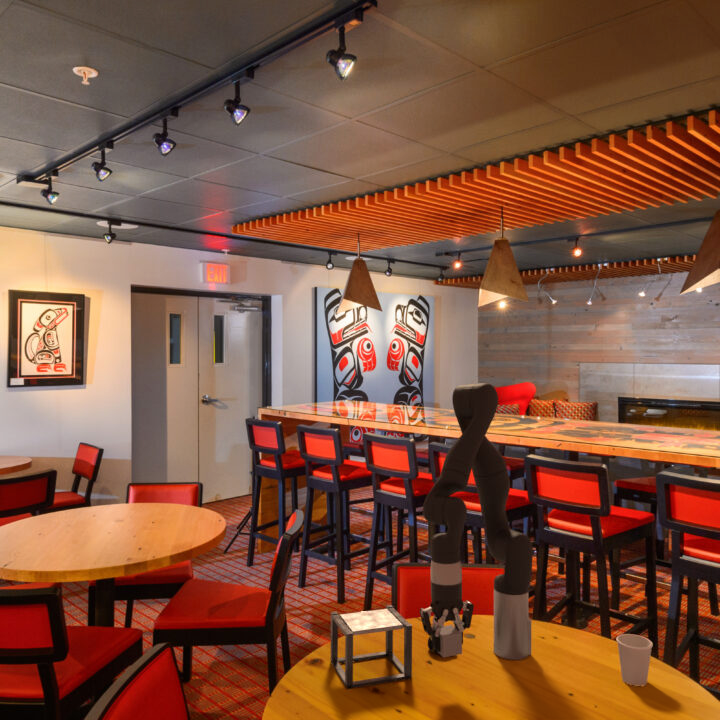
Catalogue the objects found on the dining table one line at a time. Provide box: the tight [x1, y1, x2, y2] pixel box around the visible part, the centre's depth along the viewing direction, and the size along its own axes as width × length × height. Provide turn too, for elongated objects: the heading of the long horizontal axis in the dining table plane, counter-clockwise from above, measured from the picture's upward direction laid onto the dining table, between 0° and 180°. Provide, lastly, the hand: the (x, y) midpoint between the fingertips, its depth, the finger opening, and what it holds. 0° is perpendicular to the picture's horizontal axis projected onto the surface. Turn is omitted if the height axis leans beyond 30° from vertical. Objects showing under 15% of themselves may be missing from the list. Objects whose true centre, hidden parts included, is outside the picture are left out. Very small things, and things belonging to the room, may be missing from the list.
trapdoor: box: [338, 608, 404, 636], centre depth 162 cm, size 13×12×1 cm
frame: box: [330, 604, 413, 690], centre depth 162 cm, size 17×14×13 cm
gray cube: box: [438, 624, 463, 658], centre depth 153 cm, size 5×5×5 cm
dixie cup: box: [615, 633, 654, 687], centre depth 157 cm, size 8×8×10 cm
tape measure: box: [427, 635, 440, 655], centre depth 173 cm, size 7×7×4 cm
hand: (447, 647), depth 153 cm, fingers closed on gray cube, 5 cm apart
